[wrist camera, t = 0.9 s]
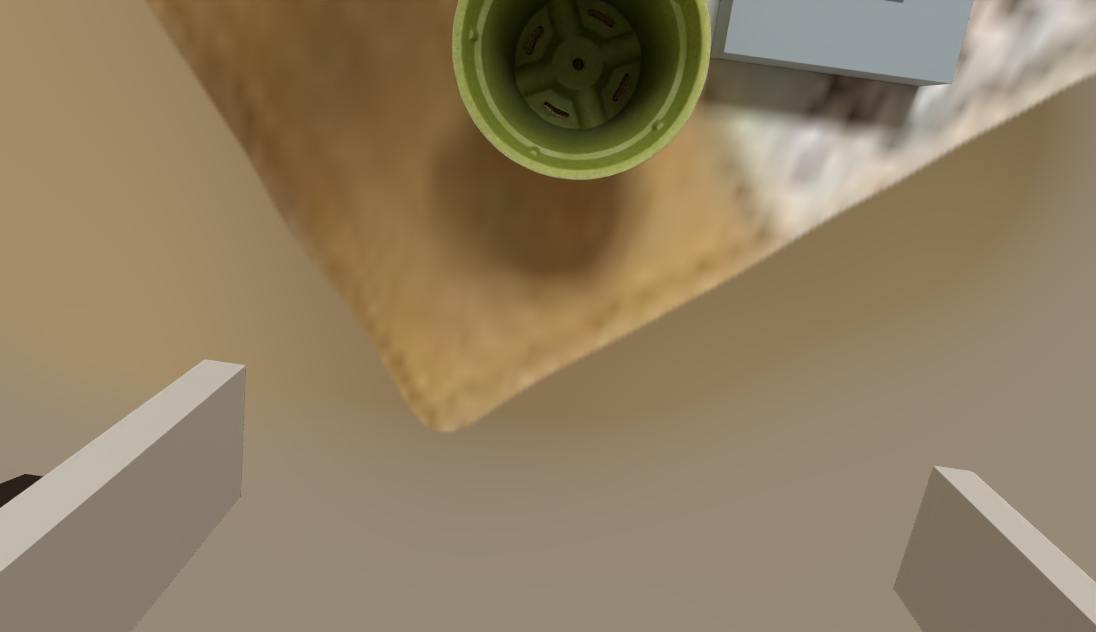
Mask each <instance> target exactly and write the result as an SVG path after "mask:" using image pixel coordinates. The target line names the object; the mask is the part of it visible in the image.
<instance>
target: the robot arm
mask: <svg viewBox="0 0 1096 632" xmlns="http://www.w3.org/2000/svg"><path fill="white" fill-rule="evenodd" d="M245 373H246V365H241V364H234V363H227V362H220V361H213V360H207V359H204V360H203V361H202V362H200V363H199V364H198V365H196V366H195V367H193V368H192V369H191V370H189V371H188V372H187V373H185V374H184V375H182V376H181V377H180V378H178V379H177V380H176V381H174V382H173V383H171V384H170V385H169V386H167V387H166V388H165V389H163V390H162V391H160V392H159V393H158V394H156V395H155V396H154V397H152V398H151V399H149V400H148V401H147V402H145V403H144V404H143V405H141V406H140V407H138V408H137V409H136V410H134V411H133V412H132V413H130V414H129V415H127V416H126V417H125V418H123V419H122V420H121V421H119V422H118V423H116V424H115V425H114V426H112V427H111V428H110V429H108V430H107V431H105V432H104V433H103V434H101V435H100V436H99V437H97V438H96V439H94V440H93V441H92V442H90V443H89V444H88V445H86V446H85V447H83V448H82V449H81V450H79V451H78V452H77V453H75V454H74V455H73V456H71V457H70V458H68V459H67V460H66V461H65V462H63V463H62V464H60V465H59V466H57V467H56V468H55V469H53V470H52V471H50V472H49V473H48V474H46V475H45V476H44V477H42V476H36V475H28V474H24V475H22V476H19V477H16V478H14V479H11V480H9V481H6V482H4V483H1V484H0V632H131V631H132V630H133V629H134V627H135V626H136V625H137V623H138V622H139V621H140V620H141V619H142V617H143V616H144V615H145V614H146V613H147V611H148V610H149V609H150V608H151V606H152V605H153V604H154V603H155V601H156V600H157V599H158V598H159V596H160V595H161V594H162V593H163V592H164V590H165V589H166V588H167V587H168V585H169V584H170V583H171V582H172V580H173V579H174V578H175V577H176V575H177V574H178V573H179V572H180V570H181V569H182V568H183V567H184V566H185V564H186V563H187V562H188V561H189V559H190V558H191V557H192V556H193V554H194V553H195V552H196V551H197V549H198V548H199V547H200V546H201V544H202V543H203V542H204V541H205V540H206V538H207V537H208V536H209V535H210V533H211V532H212V531H213V530H214V528H215V527H216V526H217V525H218V523H219V522H220V521H221V520H222V518H223V517H224V516H225V515H226V513H227V512H228V511H229V510H230V509H231V507H232V506H233V505H234V504H235V502H236V501H237V500H238V499H239V497H240V496H241V479H242V478H241V477H242V451H243V426H244V402H245V401H244V400H245V376H246V374H245ZM893 589H894V590H895V592H896V593H897V595H898V596H899V597H900V599H901V600H902V602H903V603H904V605H905V606H906V608H907V609H908V611H909V612H910V614H911V615H912V617H913V618H914V619H915V621H916V622H917V624H918V625H919V627H920V628H921V630H922V631H923V632H1096V582H1095V581H1093V580H1092V579H1091V578H1090V577H1089V576H1088V575H1087V574H1086V573H1085V572H1083V571H1082V570H1081V569H1080V568H1079V567H1078V566H1077V565H1076V564H1075V563H1073V562H1072V561H1071V560H1070V559H1069V558H1068V557H1067V556H1066V555H1065V554H1064V553H1062V552H1061V551H1060V550H1059V549H1058V548H1057V547H1056V546H1055V545H1053V544H1052V543H1051V542H1050V541H1049V540H1048V539H1047V538H1046V537H1045V536H1044V535H1042V534H1041V533H1040V532H1039V531H1038V530H1037V529H1036V528H1035V527H1034V526H1032V525H1031V524H1030V523H1029V522H1028V521H1027V520H1026V519H1025V518H1024V517H1022V516H1021V515H1020V514H1019V513H1018V512H1017V511H1016V510H1015V509H1014V508H1012V507H1011V506H1010V505H1009V504H1008V503H1007V502H1005V500H1004V499H1002V498H1001V497H1000V496H999V495H998V494H997V493H996V492H995V491H993V490H992V489H991V488H990V487H989V486H988V485H987V484H986V483H985V482H983V480H981V479H980V478H979V477H978V476H977V475H976V474H975V473H973V472H972V471H966V470H959V469H952V468H945V467H938V466H933V469H932V472H931V475H930V478H929V481H928V484H927V487H926V490H925V493H924V496H923V499H922V502H921V505H920V508H919V511H918V514H917V518H916V520H915V523H914V527H913V530H912V532H911V536H910V539H909V542H908V545H907V548H906V551H905V554H904V557H903V560H902V563H901V566H900V569H899V572H898V575H897V579H896V581H895V584H894V587H893Z"/></svg>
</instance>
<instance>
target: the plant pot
mask: <svg viewBox="0 0 1096 632" xmlns="http://www.w3.org/2000/svg"><path fill="white" fill-rule="evenodd" d="M590 9H595V10H596V11H598V12H600V13H603V14H607V15H608V16H609V17H611V19H612V20H613V21H614V26H613V27H609V26H608V25H607V24H605V23H604V22H602V21H601V20H599V19H597V18H595V17H593V16H589V15H588V12H587V11H589V10H590ZM537 27H542V28H543V32H542V33H541V35H540V37H539V38H538V40H537V41H536V43H535V46H534V49H533V52H532V54H531V55H528V54H527V52H526V44H527V42H528V41H529V39H530V37H531V35H532V33H533V32H534V30H535V29H536V28H537ZM710 51H711V26H710V17H709V12H708V7H707V3H706V0H458V3H457V6H456V10H455V15H454V20H453V28H452V61H453V68H454V74H455V78H456V82H457V86H458V89H459V92H460V95H461V98H462V100H463V103H464V105H465V107H466V109H467V111H468V113H469V115H470V117H471V119H472V120H473V122H474V123H475V125H476V126H477V128H478V129H479V130H480V131H481V133H482V134H483V135H484V136H485V138H486V139H487V140H488V141H489V142H490V143H491V144H492V145H493V146H494V147H495V148H496V149H497V150H499V151H500V152H501V153H503V154H504V155H505V156H507V157H508V158H509V159H511V160H512V161H514V162H516V163H517V164H519V165H521V166H523V167H525V168H527V169H529V170H532V171H534V172H537V173H539V174H542V175H546V176H550V177H554V178H560V179H568V180H588V179H598V178H603V177H608V176H612V175H615V174H618V173H621V172H624V171H627V170H629V169H632V168H634V167H636V166H638V165H640V164H642V163H643V162H645V161H647V160H648V159H650V158H651V157H653V156H654V155H655V154H657V153H658V152H659V151H660V150H661V149H663V148H664V147H665V146H666V145H667V144H668V143H669V142H670V141H671V140H672V139H673V138H674V137H675V135H676V134H677V133H678V132H679V131H680V130H681V128H682V127H683V126H684V124H685V123H686V121H687V120H688V118H689V117H690V115H691V113H692V112H693V110H694V108H695V106H696V104H697V102H698V99H699V97H700V95H701V92H702V90H703V87H704V84H705V80H706V77H707V72H708V67H709V61H710ZM577 58H578V59H580V60H582V61H583V64H584V66H583V68H582V69H580V70H577V69H575V68H574V67H573V65H572V64H573V61H574V60H575V59H577ZM625 74H628V84H627V88H626V90H625V92H624V94H623V95H622V97H621V98H620V99H619V100H618V101H616V102H615V101H613V100H612V96H613V95H614V94H615V92H616V91H617V89H618V88H619V86H620V84H621V82H622V79H624V75H625ZM544 102H548V103H549V104H551V105H552V106H554V107H555V108H557V109H559V110H561V111H563V112H566V113H568V114H569V117H566V118H565V119H563V118H560V117H557V116H556V115H553V114H551V113H549V112H548V111H547V110H545V107H544V106H543V104H544Z"/></svg>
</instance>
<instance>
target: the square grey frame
mask: <svg viewBox="0 0 1096 632" xmlns="http://www.w3.org/2000/svg"><path fill="white" fill-rule="evenodd" d="M973 1H974V0H720V6H719V11H718V17H717V22H716V28H715V34H714V39H713V45H712V51H711V56H710V58H718V59H725V60H732V61H739V62H747V63H754V64H761V65H769V66H776V67H783V68H790V69H798V70H805V71H812V72H819V73H827V74H834V75H841V76H849V77H856V78H863V79H870V80H878V81H885V82H892V83H900V84H907V85H914V86H929V85H941V84H952V81H953V77H954V73H955V70H956V66H957V62H958V58H959V54H960V51H961V47H962V43H963V39H964V35H965V31H966V28H967V24H968V20H969V16H970V12H971V8H972V5H973Z"/></svg>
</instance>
